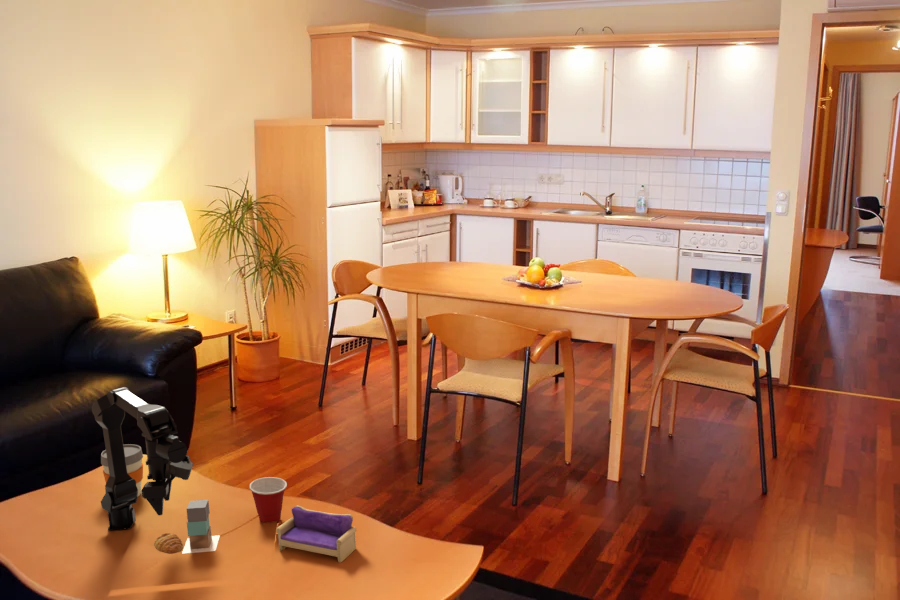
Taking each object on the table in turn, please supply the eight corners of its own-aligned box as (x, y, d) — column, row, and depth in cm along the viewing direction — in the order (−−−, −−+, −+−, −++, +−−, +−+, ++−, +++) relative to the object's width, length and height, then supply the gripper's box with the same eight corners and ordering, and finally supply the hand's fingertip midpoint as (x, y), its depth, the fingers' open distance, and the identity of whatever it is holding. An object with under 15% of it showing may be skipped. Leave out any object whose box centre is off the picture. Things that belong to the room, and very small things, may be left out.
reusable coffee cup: (111, 488, 274) (106, 445, 271) (151, 485, 275) (146, 442, 272) (100, 505, 261) (94, 460, 258) (141, 502, 263) (136, 457, 260)
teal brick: (188, 536, 228) (186, 522, 227) (191, 527, 233) (189, 514, 232) (206, 534, 229) (205, 521, 228) (209, 526, 234) (208, 512, 233)
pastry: (189, 552, 230) (188, 539, 230) (166, 561, 226) (165, 548, 225) (174, 540, 237) (173, 528, 236) (151, 549, 233) (150, 537, 232)
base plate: (182, 557, 227) (181, 553, 227) (187, 541, 236) (187, 538, 236) (215, 554, 228) (215, 550, 228) (220, 539, 237) (220, 535, 237)
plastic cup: (277, 532, 240) (274, 493, 238) (245, 527, 244) (241, 488, 241) (296, 515, 250) (293, 478, 248) (265, 511, 254) (262, 474, 251)
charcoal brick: (187, 522, 227) (186, 508, 227) (191, 514, 232) (189, 500, 232) (206, 520, 228) (205, 507, 227) (209, 512, 233) (208, 499, 232)
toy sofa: (276, 551, 230) (273, 516, 228) (294, 536, 237) (291, 503, 235) (342, 564, 221) (340, 529, 219) (358, 549, 229) (356, 515, 227)
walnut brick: (190, 549, 229) (189, 536, 228) (193, 540, 234) (192, 527, 233) (209, 547, 230) (207, 534, 229) (211, 539, 234) (210, 526, 234)
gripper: (182, 464, 217) (188, 520, 220) (194, 439, 235) (199, 491, 238) (138, 468, 216) (144, 524, 219) (153, 442, 234) (159, 494, 237)
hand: (163, 507), depth 228 cm, fingers open, 9 cm apart
